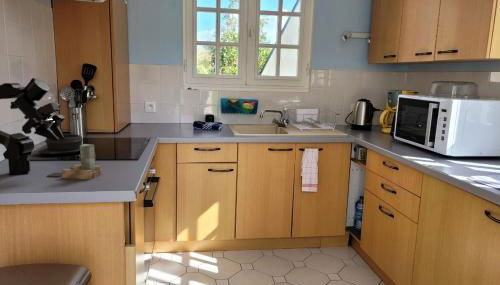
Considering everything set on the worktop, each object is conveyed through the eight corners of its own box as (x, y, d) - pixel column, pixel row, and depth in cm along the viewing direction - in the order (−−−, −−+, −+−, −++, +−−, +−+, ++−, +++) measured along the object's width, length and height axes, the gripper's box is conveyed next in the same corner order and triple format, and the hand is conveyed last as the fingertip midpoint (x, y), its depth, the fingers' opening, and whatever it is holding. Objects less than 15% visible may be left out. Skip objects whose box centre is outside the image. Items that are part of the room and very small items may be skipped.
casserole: (57, 159, 175) (56, 140, 174) (28, 155, 182) (27, 137, 181) (98, 150, 198) (97, 134, 197) (71, 147, 205) (70, 131, 204)
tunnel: (62, 177, 142) (61, 167, 141) (74, 172, 150) (74, 162, 149) (90, 179, 141) (90, 168, 140) (101, 174, 149) (101, 164, 148)
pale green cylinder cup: (76, 177, 143) (75, 145, 141) (83, 174, 148) (82, 143, 146) (93, 178, 143) (92, 146, 141) (99, 175, 147) (98, 144, 145)
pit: (46, 176, 143) (46, 175, 143) (54, 173, 148) (54, 172, 148) (59, 177, 143) (59, 176, 143) (67, 174, 148) (67, 172, 148)
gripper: (27, 95, 133) (59, 128, 134) (59, 93, 151) (87, 122, 152) (7, 117, 135) (39, 149, 136) (41, 113, 153) (69, 141, 154)
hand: (60, 139), depth 144 cm, fingers open, 4 cm apart
